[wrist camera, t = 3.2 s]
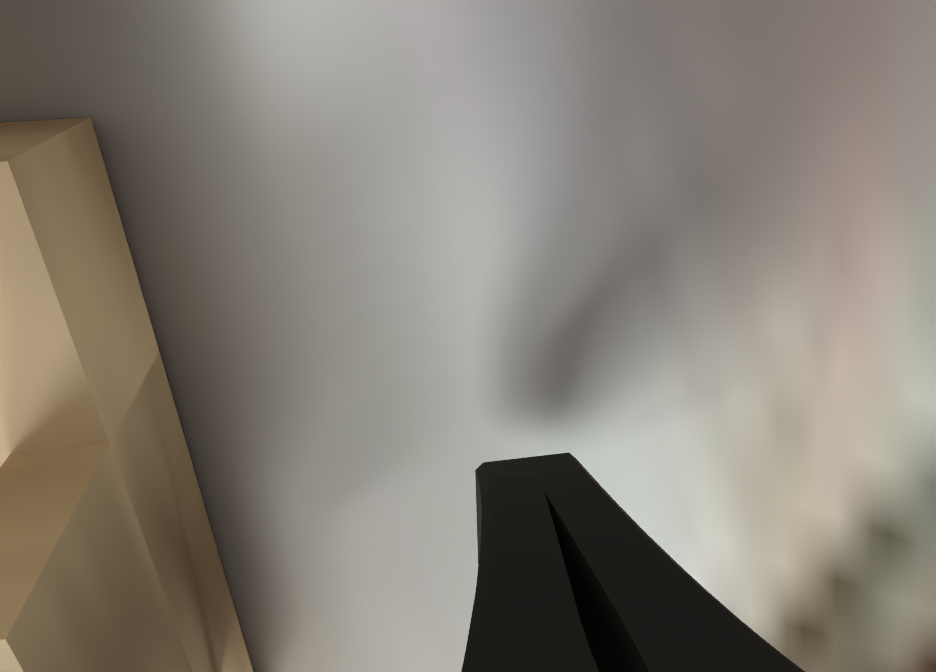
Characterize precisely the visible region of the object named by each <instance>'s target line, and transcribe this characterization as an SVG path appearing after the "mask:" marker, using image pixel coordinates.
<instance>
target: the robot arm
mask: <svg viewBox="0 0 936 672" xmlns="http://www.w3.org/2000/svg"><path fill="white" fill-rule="evenodd" d="M475 472H476V504H477V536H478V564H479V566H478V576H477V586H476V593H475V600H474V606H473V612H472V617H471V623H470V629H469V635H468V641H467V647H466V652H465V657H464V662H463V667H462V672H805V671H803V670H802V669H801V668H799V667H798V666H797V665H795V664H794V663H793V662H792V661H790V660H789V659H788V658H786V657H785V656H784V655H782V654H781V653H780V652H779V651H777V650H776V649H775V648H774V647H773V646H771V645H770V644H769V643H768V642H766V641H765V640H764V639H763V638H761V637H760V636H759V635H758V634H757V633H755V632H754V631H753V630H752V629H751V628H749V627H748V626H747V625H746V624H745V623H743V622H742V621H741V620H740V619H739V618H737V617H736V616H735V615H734V614H733V613H732V612H731V611H729V610H728V609H727V608H726V607H725V606H724V605H723V604H721V603H720V602H719V601H718V600H717V599H716V598H715V597H713V596H712V595H711V594H710V593H709V592H708V591H707V590H705V589H704V588H703V587H702V586H701V585H700V584H699V583H698V582H697V581H696V580H695V579H693V578H692V577H691V576H690V575H689V574H688V573H687V572H686V571H685V570H684V569H683V568H682V567H681V566H679V565H678V564H677V563H676V562H675V561H674V560H673V559H672V558H671V557H670V556H669V555H668V554H667V553H666V552H665V551H664V550H663V549H662V548H661V547H660V546H659V545H658V544H657V543H656V542H655V541H654V540H653V539H652V538H651V537H649V536H648V535H647V534H646V533H645V532H644V531H643V530H642V529H641V528H640V527H639V526H638V525H637V523H636V522H635V521H634V520H633V519H632V518H631V517H630V516H629V515H628V514H627V513H626V512H625V511H624V510H623V509H622V508H621V507H620V506H619V505H618V504H617V503H616V502H615V501H614V500H613V499H612V497H611V496H610V495H609V494H608V493H607V492H606V491H605V490H604V489H603V488H602V487H601V486H600V485H599V483H598V482H597V481H596V480H595V479H594V478H593V477H592V476H591V475H590V474H589V472H588V471H587V470H586V469H585V468H584V467H583V466H582V465H581V464H580V463H579V461H578V460H577V459H576V458H575V457H573V456H572V455H571V454H570V453H561V454H553V455H544V456H536V457H527V458H519V459H510V460H502V461H493V462H484V463H482V464H481V465H480V466H479V467H478V468H477V469H476V470H475Z"/></svg>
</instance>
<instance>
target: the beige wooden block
mask: <svg viewBox="0 0 936 672" xmlns="http://www.w3.org/2000/svg"><path fill="white" fill-rule="evenodd" d="M0 672H253V669H252V666H251V662H250V659H249V656H248V652H247V649H246V645H245V642H244V639H243V635H242V632H241V628H240V625H239V621H238V618H237V615H236V611H235V608H234V604H233V601H232V598H231V594H230V591H229V587H228V584H227V581H226V577H225V574H224V570H223V567H222V564H221V560H220V557H219V553H218V550H217V546H216V543H215V540H214V536H213V533H212V529H211V526H210V523H209V519H208V516H207V512H206V509H205V506H204V502H203V499H202V495H201V492H200V488H199V485H198V482H197V478H196V475H195V471H194V468H193V465H192V461H191V458H190V454H189V451H188V448H187V444H186V441H185V437H184V434H183V430H182V427H181V424H180V420H179V417H178V413H177V410H176V407H175V403H174V400H173V396H172V393H171V390H170V386H169V383H168V379H167V376H166V373H165V369H164V366H163V362H162V359H161V355H160V352H159V349H158V345H157V342H156V338H155V335H154V332H153V328H152V325H151V321H150V318H149V315H148V311H147V308H146V304H145V301H144V297H143V294H142V291H141V287H140V284H139V280H138V277H137V274H136V270H135V267H134V263H133V260H132V257H131V253H130V250H129V246H128V243H127V240H126V236H125V233H124V229H123V226H122V222H121V219H120V216H119V212H118V209H117V205H116V202H115V199H114V195H113V192H112V188H111V185H110V182H109V178H108V175H107V171H106V168H105V164H104V161H103V158H102V154H101V151H100V147H99V144H98V141H97V137H96V134H95V130H94V127H93V124H92V120H91V117H87V118H69V119H51V120H33V121H15V122H0Z"/></svg>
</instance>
